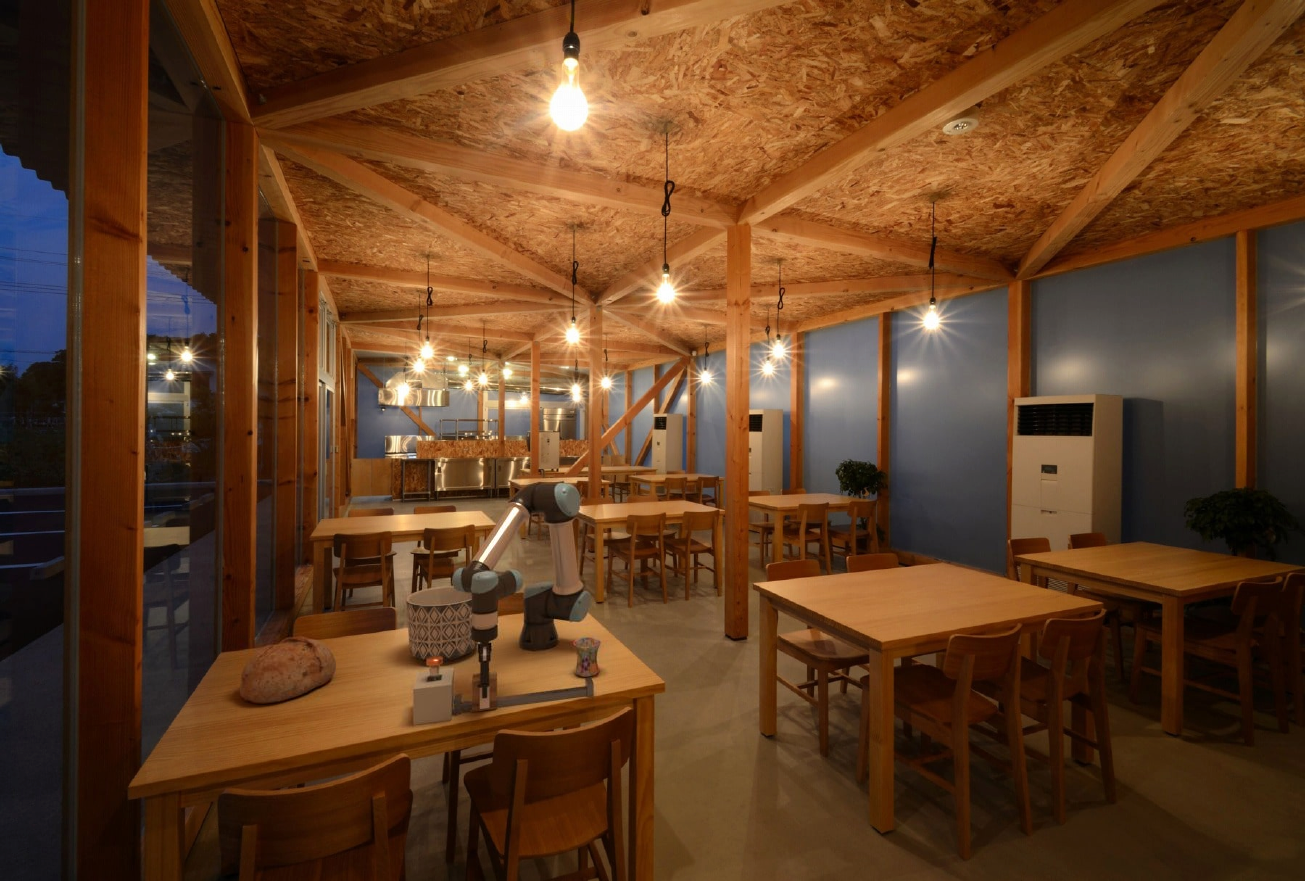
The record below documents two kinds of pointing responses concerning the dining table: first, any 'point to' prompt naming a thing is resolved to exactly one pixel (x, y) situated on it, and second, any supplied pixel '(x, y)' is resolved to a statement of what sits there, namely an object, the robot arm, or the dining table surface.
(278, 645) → the bread
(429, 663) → the push button
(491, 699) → the block
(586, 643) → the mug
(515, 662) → the dining table surface
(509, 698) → the rail
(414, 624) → the planter
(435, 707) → the knob base
